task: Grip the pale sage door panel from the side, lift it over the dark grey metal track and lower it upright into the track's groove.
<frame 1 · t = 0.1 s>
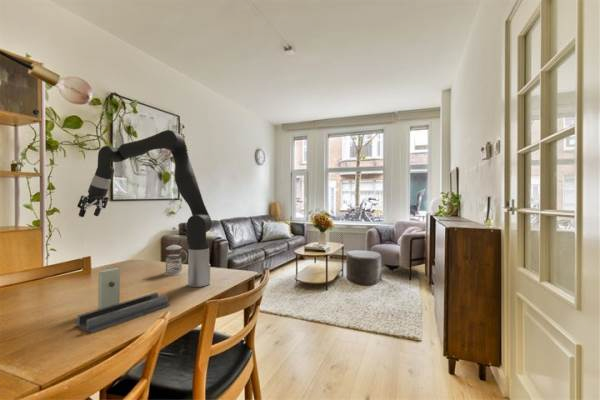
hand: (88, 216, 137), 31 cm above the table, tool tilted 20°, fingers open, 8 cm apart
track: (126, 314, 97), on the table
french press: (175, 273, 153), on the table
door panel: (108, 307, 103), on the table
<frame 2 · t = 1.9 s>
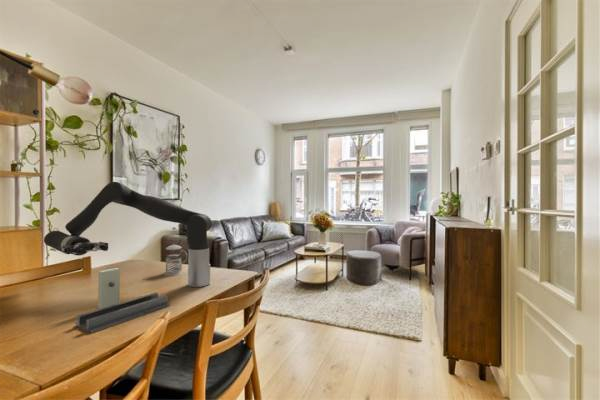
hand: (94, 249, 109), 20 cm above the table, tool horizontal, fingers open, 8 cm apart
nothing on the table moved.
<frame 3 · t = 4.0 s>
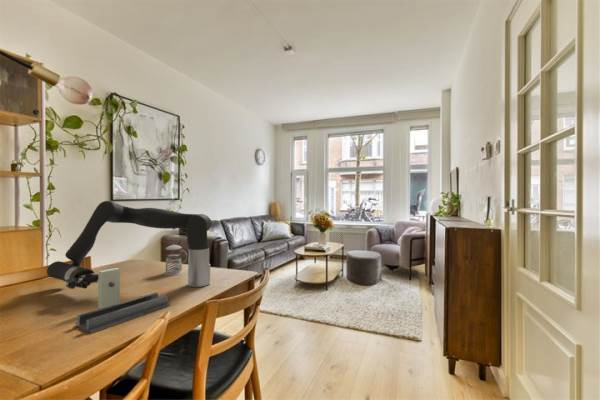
hand: (99, 282, 107), 8 cm above the table, tool horizontal, fingers open, 8 cm apart
nothing on the table moved.
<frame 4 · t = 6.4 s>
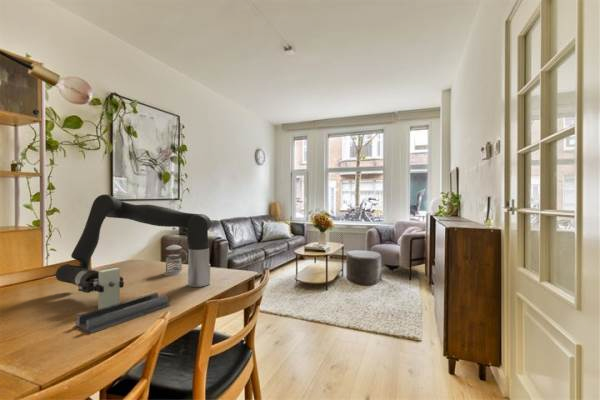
hand: (112, 287, 102), 8 cm above the table, tool horizontal, fingers closed on door panel, 6 cm apart
door panel: (109, 307, 103), on the table, touching gripper
everything else where it was.
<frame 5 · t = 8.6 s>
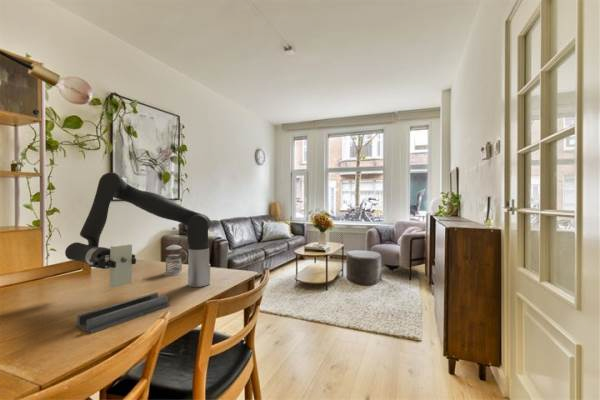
hand: (124, 262, 98), 18 cm above the table, tool horizontal, fingers closed on door panel, 6 cm apart
door panel: (120, 284, 99), point 10 cm above the table, touching gripper
everything else where it was.
when the fingers open (10 cm above the table, at t = 11.3 s): door panel drops 1 cm, resting on track.
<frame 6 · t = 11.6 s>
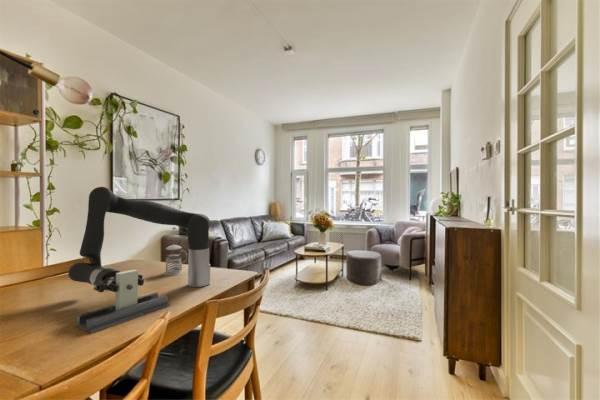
hand: (130, 285, 96), 10 cm above the table, tool horizontal, fingers open, 8 cm apart
door panel: (126, 311, 97), point 1 cm above the table, touching track
everything else where it was.
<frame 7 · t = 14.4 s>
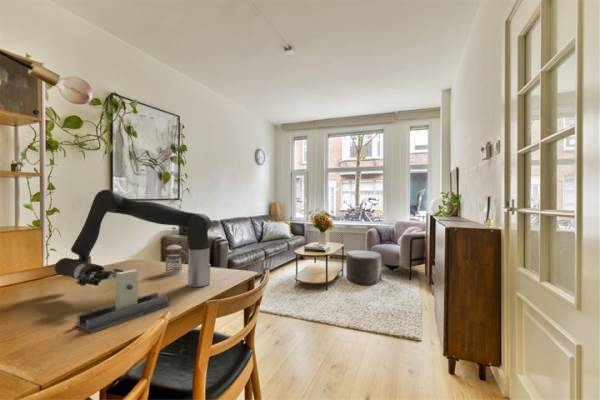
hand: (110, 279, 103), 11 cm above the table, tool horizontal, fingers open, 8 cm apart
nothing on the table moved.
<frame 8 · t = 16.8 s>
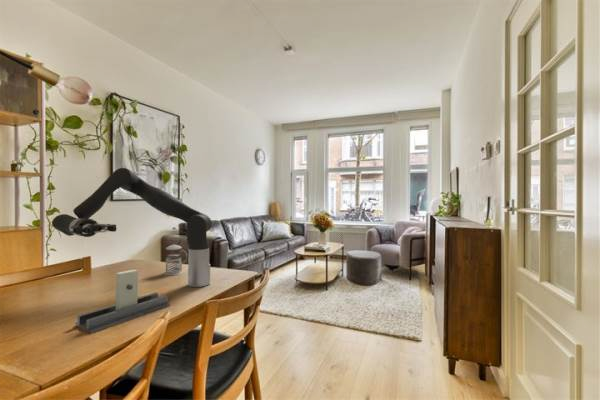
hand: (103, 229, 110), 28 cm above the table, tool horizontal, fingers open, 8 cm apart
nothing on the table moved.
at the end: door panel inside the target area on the track (0.1 cm from its centre), point 1.0 cm above the track's base; door panel 0.1 cm from the track (horizontally); door panel tilted 0° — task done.
